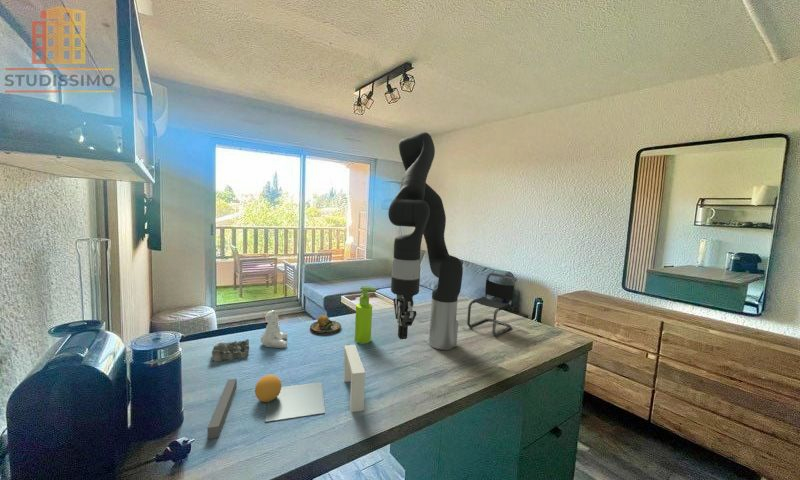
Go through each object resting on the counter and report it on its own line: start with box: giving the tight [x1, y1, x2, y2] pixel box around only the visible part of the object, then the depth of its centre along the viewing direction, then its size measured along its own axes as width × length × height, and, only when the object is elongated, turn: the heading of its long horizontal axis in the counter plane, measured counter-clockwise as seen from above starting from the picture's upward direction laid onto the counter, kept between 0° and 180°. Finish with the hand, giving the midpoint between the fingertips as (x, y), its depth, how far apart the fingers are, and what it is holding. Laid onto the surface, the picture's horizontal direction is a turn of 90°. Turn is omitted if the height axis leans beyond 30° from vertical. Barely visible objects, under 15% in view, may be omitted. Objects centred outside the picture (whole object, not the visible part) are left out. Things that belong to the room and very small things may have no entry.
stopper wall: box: [207, 378, 238, 440], centre depth 71 cm, size 2×18×2 cm, turn 18°
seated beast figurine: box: [260, 309, 288, 349], centre depth 105 cm, size 10×9×12 cm
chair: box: [466, 272, 518, 337], centre depth 130 cm, size 13×17×22 cm
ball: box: [254, 374, 282, 403], centre depth 76 cm, size 6×6×6 cm
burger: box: [309, 314, 342, 336], centre depth 120 cm, size 12×12×8 cm
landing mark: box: [264, 381, 326, 423], centre depth 76 cm, size 13×13×1 cm
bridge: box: [342, 344, 366, 413], centre depth 80 cm, size 3×15×10 cm, turn 18°
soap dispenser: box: [354, 286, 377, 345], centre depth 111 cm, size 6×7×20 cm
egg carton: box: [211, 338, 250, 362], centre depth 97 cm, size 10×7×4 cm
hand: (402, 337), depth 83 cm, fingers closed
